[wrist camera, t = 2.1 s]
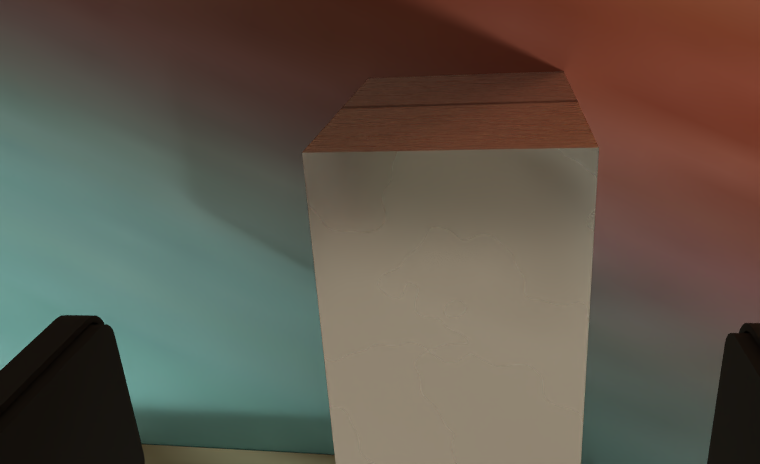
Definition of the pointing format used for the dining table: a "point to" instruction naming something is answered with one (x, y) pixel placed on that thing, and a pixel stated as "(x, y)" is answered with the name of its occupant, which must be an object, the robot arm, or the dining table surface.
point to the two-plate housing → (455, 268)
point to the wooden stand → (227, 456)
